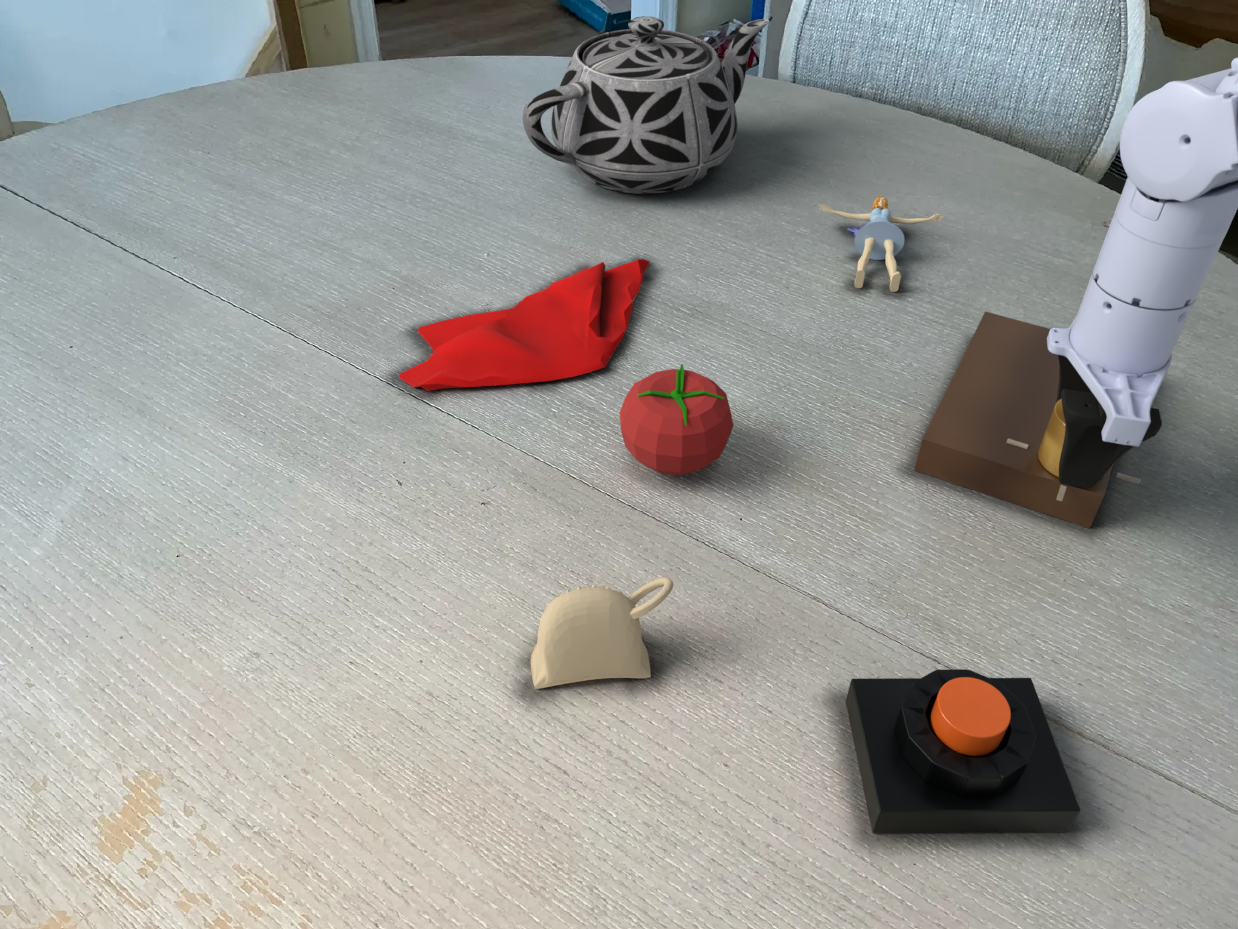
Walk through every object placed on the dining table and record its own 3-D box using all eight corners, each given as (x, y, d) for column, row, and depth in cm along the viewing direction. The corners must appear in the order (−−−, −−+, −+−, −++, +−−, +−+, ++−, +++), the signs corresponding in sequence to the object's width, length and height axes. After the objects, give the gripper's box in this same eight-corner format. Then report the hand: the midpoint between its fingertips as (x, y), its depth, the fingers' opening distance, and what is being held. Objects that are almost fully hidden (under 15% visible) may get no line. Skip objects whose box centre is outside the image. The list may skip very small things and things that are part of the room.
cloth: (446, 434, 75) (442, 410, 73) (370, 343, 83) (366, 320, 81) (723, 323, 85) (725, 300, 84) (632, 253, 94) (632, 231, 92)
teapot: (817, 157, 109) (838, 12, 99) (586, 244, 95) (582, 85, 85) (701, 100, 120) (710, -36, 110) (480, 170, 106) (466, 22, 96)
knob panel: (1154, 391, 79) (1169, 358, 77) (1113, 555, 66) (1130, 521, 64) (976, 341, 84) (985, 309, 81) (906, 485, 71) (915, 451, 68)
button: (991, 696, 53) (999, 676, 52) (1011, 756, 51) (1020, 736, 50) (923, 696, 53) (930, 676, 52) (939, 756, 51) (947, 737, 49)
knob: (1035, 435, 70) (1054, 385, 67) (1103, 445, 69) (1124, 396, 66) (1039, 476, 67) (1058, 427, 64) (1109, 488, 66) (1132, 438, 63)
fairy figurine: (815, 251, 87) (822, 174, 95) (808, 295, 91) (815, 217, 99) (952, 264, 86) (947, 185, 94) (939, 308, 89) (936, 228, 97)
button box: (1020, 700, 57) (1040, 657, 55) (1068, 833, 51) (1093, 791, 49) (845, 701, 57) (856, 658, 55) (872, 834, 51) (886, 793, 49)
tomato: (734, 429, 75) (743, 345, 70) (724, 502, 69) (733, 415, 64) (628, 417, 76) (629, 333, 71) (609, 488, 70) (609, 402, 65)
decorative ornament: (529, 633, 61) (524, 574, 57) (667, 623, 61) (670, 564, 58) (531, 690, 58) (526, 631, 54) (676, 678, 58) (680, 619, 55)
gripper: (1063, 215, 65) (1007, 383, 74) (1081, 343, 54) (1013, 521, 63) (1181, 229, 63) (1109, 398, 72) (1223, 363, 53) (1133, 541, 62)
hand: (1072, 457), depth 68 cm, fingers closed on knob, 4 cm apart
